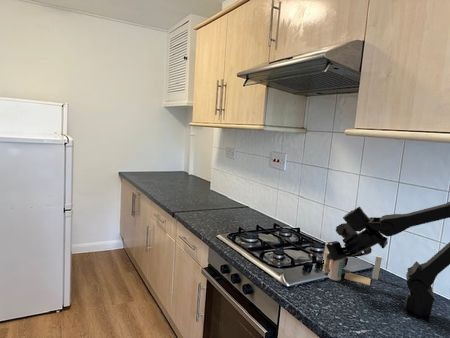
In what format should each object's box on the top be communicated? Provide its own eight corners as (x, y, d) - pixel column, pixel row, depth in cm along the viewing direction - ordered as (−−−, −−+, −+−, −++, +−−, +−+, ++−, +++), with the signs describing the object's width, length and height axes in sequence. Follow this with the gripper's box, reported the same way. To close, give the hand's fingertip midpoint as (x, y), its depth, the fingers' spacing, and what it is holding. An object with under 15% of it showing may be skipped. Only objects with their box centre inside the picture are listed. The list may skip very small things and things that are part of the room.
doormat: (370, 279, 121) (370, 278, 121) (369, 286, 116) (370, 285, 116) (345, 272, 125) (346, 271, 125) (344, 278, 120) (344, 277, 120)
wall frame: (377, 278, 123) (381, 256, 121) (377, 280, 121) (381, 258, 120) (322, 262, 132) (326, 242, 130) (322, 264, 130) (325, 243, 129)
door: (340, 268, 127) (343, 249, 126) (344, 270, 125) (347, 251, 124) (322, 271, 122) (325, 252, 121) (326, 274, 121) (329, 254, 119)
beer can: (328, 274, 122) (332, 244, 120) (341, 277, 120) (345, 247, 118) (326, 279, 118) (330, 248, 116) (339, 282, 116) (344, 252, 114)
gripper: (370, 217, 116) (341, 234, 128) (334, 221, 107) (307, 239, 118) (385, 245, 111) (354, 261, 122) (350, 252, 102) (319, 268, 113)
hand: (334, 256), depth 119 cm, fingers open, 7 cm apart
